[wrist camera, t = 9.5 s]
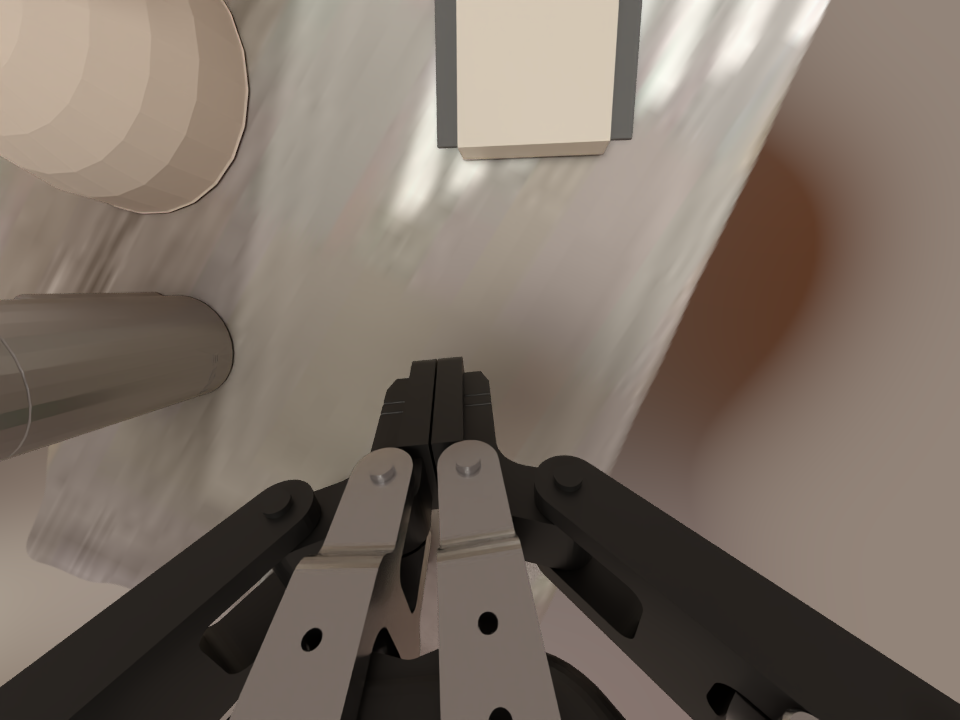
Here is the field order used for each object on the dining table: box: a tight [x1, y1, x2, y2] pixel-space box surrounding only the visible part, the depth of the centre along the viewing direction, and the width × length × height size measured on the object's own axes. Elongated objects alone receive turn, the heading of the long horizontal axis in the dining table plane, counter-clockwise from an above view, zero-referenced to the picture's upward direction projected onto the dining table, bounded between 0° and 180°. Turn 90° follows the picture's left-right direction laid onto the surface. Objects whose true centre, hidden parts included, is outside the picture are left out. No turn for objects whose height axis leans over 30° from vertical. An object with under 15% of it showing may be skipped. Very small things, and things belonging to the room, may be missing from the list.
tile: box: [456, 0, 619, 160], centre depth 25 cm, size 3×10×12 cm
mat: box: [435, 0, 642, 148], centre depth 26 cm, size 12×14×1 cm
